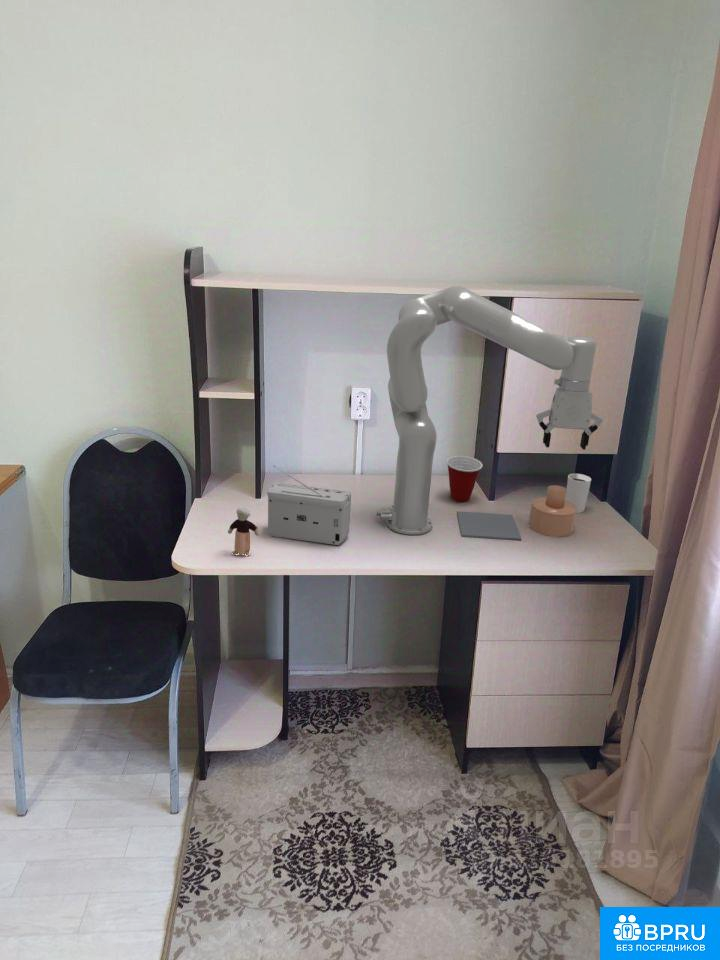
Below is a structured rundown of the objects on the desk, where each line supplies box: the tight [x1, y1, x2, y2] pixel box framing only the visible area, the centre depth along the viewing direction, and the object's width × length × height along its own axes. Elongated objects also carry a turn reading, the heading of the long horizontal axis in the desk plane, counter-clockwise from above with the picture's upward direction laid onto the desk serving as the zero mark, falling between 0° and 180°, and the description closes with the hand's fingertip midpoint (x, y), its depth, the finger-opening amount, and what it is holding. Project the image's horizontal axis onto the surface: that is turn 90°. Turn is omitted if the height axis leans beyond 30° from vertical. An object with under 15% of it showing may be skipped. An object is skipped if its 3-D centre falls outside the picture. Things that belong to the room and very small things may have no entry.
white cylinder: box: [565, 473, 592, 514], centre depth 217 cm, size 7×7×10 cm
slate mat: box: [456, 510, 522, 541], centre depth 203 cm, size 16×16×1 cm
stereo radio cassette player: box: [267, 464, 352, 546], centre depth 188 cm, size 21×8×20 cm, turn 78°
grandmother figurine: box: [227, 506, 260, 555], centre depth 178 cm, size 8×4×13 cm, turn 95°
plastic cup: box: [446, 455, 483, 503], centre depth 219 cm, size 11×11×12 cm
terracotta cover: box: [528, 484, 578, 538], centre depth 203 cm, size 12×12×12 cm
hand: (564, 447), depth 196 cm, fingers open, 9 cm apart
